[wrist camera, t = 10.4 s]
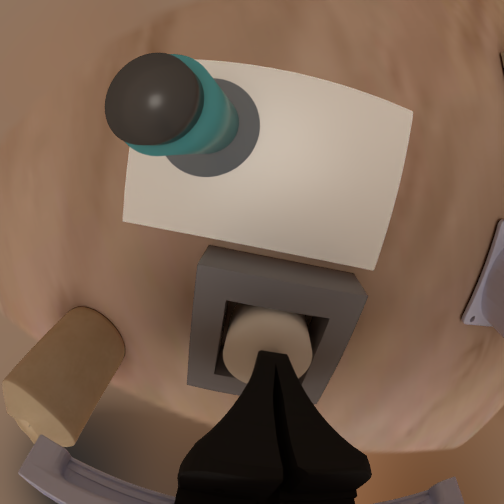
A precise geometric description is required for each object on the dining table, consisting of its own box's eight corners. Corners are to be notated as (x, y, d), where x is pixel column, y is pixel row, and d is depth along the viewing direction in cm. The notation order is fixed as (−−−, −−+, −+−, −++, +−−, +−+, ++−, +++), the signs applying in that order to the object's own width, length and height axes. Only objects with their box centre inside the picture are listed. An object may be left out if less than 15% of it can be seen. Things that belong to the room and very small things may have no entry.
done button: (315, 298, 15) (324, 330, 12) (294, 357, 16) (297, 391, 14) (236, 284, 15) (229, 314, 12) (225, 345, 16) (218, 379, 14)
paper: (410, 112, 11) (414, 111, 11) (371, 268, 14) (374, 271, 14) (149, 60, 11) (146, 58, 11) (125, 220, 14) (122, 221, 14)
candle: (57, 306, 17) (-23, 386, 7) (108, 304, 16) (21, 410, 7) (85, 362, 19) (28, 446, 9) (136, 366, 18) (83, 473, 9)
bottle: (245, 99, 11) (220, 45, 5) (231, 159, 12) (192, 165, 6) (184, 90, 11) (111, 45, 5) (172, 148, 12) (87, 151, 6)
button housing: (353, 273, 15) (368, 296, 12) (311, 376, 17) (316, 404, 15) (209, 245, 14) (197, 264, 12) (195, 357, 17) (186, 384, 15)
